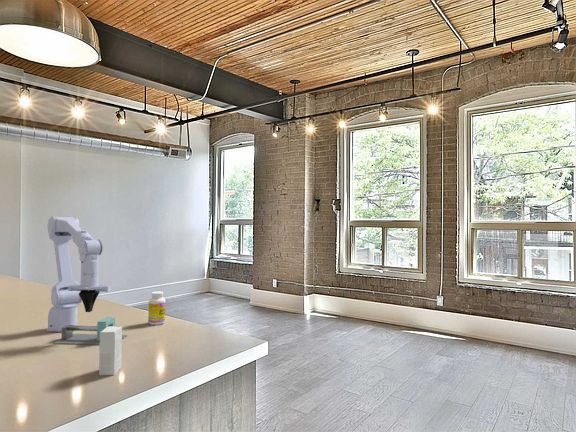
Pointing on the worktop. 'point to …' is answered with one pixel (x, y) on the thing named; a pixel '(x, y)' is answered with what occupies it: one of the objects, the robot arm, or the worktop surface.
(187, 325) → the worktop surface
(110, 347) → the skincare box
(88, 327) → the pipe
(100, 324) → the teal slotted block
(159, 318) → the supplement bottle
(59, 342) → the grey rectangular plate
